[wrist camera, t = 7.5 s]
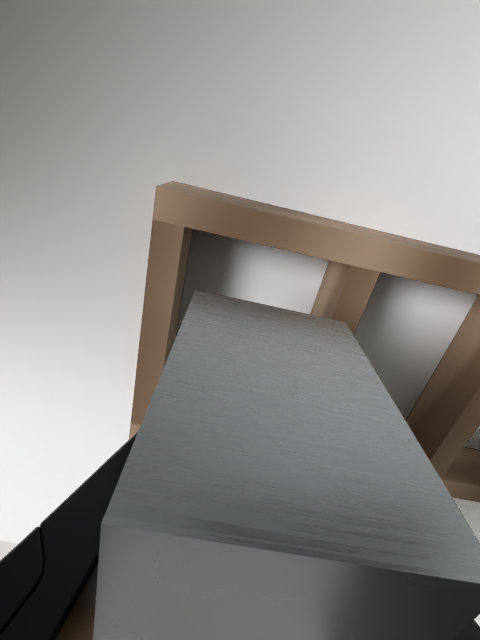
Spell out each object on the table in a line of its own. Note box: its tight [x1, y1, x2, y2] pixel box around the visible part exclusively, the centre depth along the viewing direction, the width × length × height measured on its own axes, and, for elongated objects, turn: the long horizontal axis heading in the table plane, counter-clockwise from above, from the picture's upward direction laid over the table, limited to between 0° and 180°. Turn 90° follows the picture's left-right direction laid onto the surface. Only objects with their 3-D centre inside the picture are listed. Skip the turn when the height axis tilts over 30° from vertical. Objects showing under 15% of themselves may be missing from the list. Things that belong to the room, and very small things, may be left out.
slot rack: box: [129, 181, 480, 502], centre depth 14 cm, size 21×11×2 cm, turn 77°
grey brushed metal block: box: [93, 290, 480, 640], centre depth 7 cm, size 4×7×6 cm, turn 167°
